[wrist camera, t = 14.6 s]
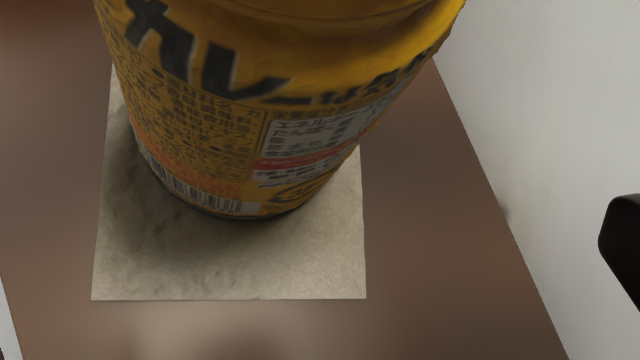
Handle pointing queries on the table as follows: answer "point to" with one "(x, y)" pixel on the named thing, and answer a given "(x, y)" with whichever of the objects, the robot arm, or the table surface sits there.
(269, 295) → the condiment
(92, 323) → the shelf
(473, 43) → the table surface
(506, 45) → the table surface
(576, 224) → the table surface
